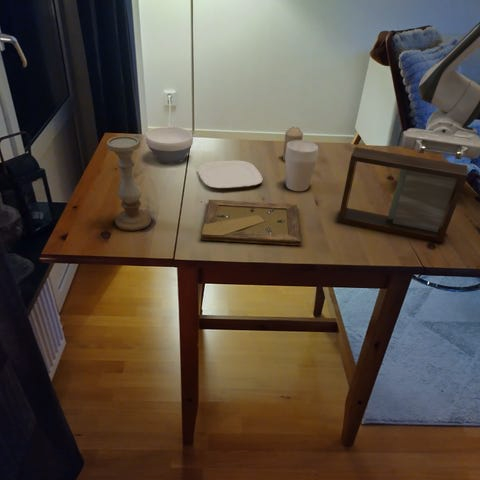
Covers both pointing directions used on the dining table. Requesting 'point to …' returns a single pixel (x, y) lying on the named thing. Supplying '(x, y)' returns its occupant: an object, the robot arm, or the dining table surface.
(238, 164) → the plate
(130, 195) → the candle holder
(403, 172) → the door
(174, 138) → the bowl
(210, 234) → the picture frame
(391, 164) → the frame
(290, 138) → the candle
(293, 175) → the cup
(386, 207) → the dining table surface
